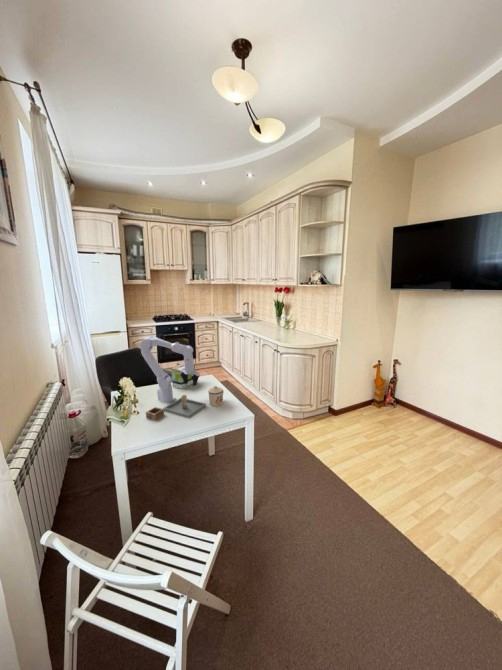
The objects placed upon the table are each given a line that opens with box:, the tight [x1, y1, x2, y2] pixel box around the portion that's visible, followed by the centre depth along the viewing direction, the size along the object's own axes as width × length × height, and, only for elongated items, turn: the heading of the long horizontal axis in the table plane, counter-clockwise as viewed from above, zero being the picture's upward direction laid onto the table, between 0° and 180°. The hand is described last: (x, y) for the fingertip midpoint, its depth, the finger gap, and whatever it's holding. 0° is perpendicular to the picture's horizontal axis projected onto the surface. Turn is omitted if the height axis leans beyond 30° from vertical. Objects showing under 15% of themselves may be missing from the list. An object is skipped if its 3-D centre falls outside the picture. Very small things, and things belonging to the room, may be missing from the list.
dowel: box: [180, 394, 188, 409], centre depth 163 cm, size 3×3×8 cm
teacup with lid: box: [207, 385, 225, 407], centre depth 170 cm, size 12×9×12 cm
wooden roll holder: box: [145, 406, 165, 421], centre depth 155 cm, size 7×7×4 cm
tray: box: [162, 397, 207, 419], centre depth 164 cm, size 20×16×2 cm
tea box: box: [170, 363, 196, 390], centre depth 200 cm, size 15×10×15 cm
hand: (190, 384), depth 175 cm, fingers open, 7 cm apart
